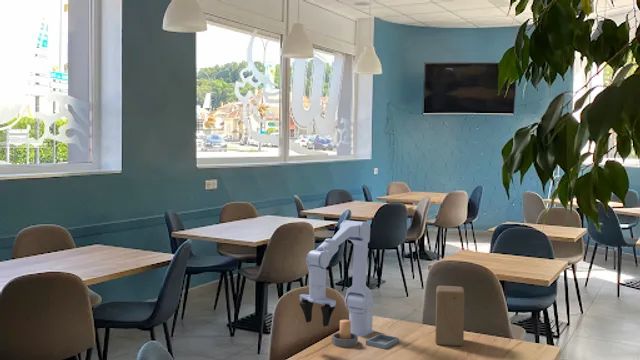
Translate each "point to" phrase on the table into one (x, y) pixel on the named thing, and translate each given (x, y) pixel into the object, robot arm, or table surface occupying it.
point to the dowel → (345, 329)
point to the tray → (382, 341)
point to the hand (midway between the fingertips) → (317, 323)
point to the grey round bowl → (342, 342)
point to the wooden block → (449, 315)
